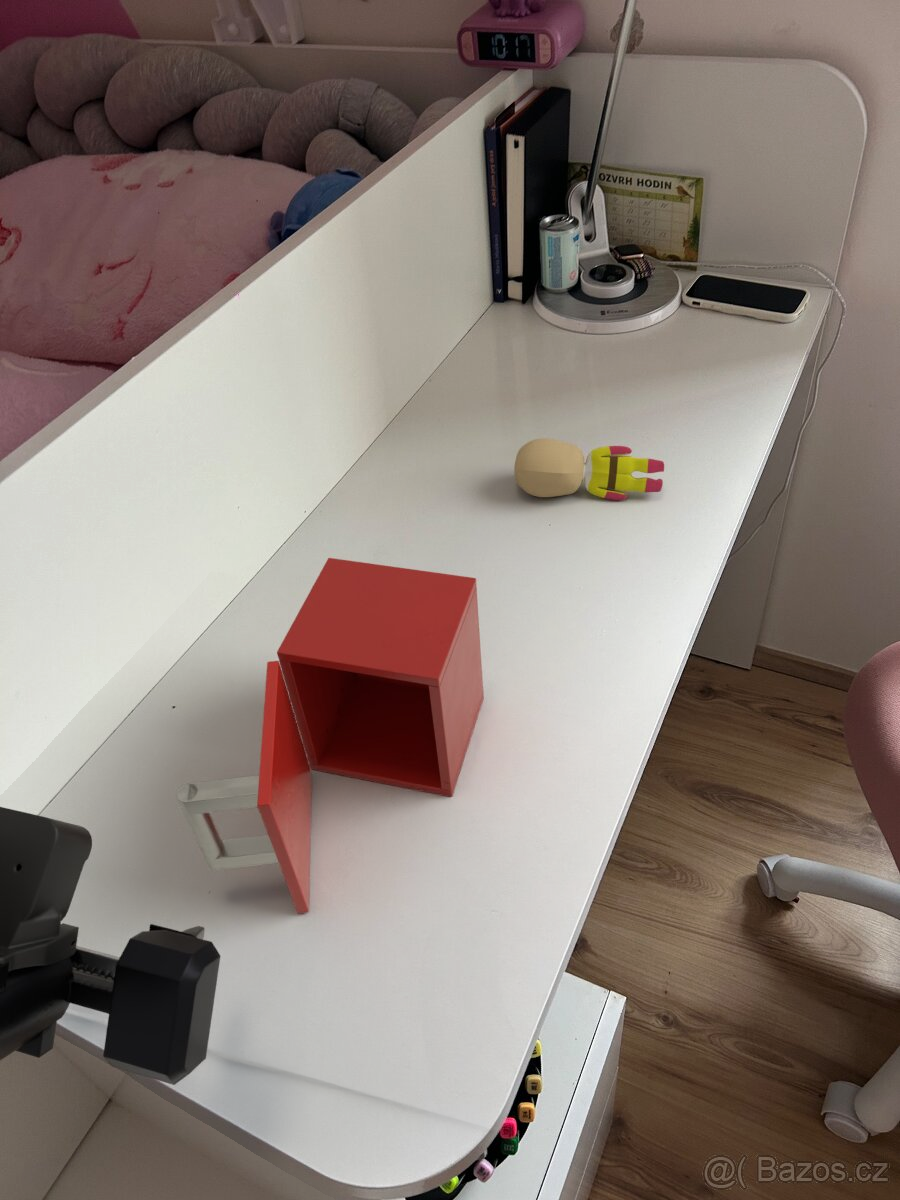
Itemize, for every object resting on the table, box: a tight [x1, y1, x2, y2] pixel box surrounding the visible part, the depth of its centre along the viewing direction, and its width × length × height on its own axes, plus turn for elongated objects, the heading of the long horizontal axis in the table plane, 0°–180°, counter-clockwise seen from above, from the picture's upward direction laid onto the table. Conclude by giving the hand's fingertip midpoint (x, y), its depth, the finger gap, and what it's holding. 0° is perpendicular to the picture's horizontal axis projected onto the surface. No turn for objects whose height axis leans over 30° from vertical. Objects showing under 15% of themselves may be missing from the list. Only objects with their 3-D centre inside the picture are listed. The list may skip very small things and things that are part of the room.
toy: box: [513, 437, 665, 501], centre depth 94 cm, size 6×7×15 cm
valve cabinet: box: [276, 557, 485, 798], centre depth 70 cm, size 10×12×14 cm
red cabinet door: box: [175, 660, 313, 914], centre depth 63 cm, size 6×12×13 cm, turn 5°
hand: (130, 917), depth 54 cm, fingers open, 9 cm apart
